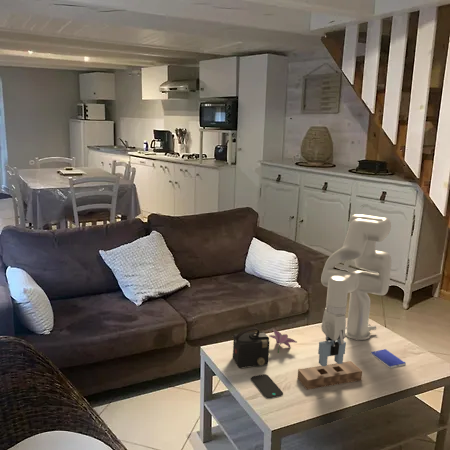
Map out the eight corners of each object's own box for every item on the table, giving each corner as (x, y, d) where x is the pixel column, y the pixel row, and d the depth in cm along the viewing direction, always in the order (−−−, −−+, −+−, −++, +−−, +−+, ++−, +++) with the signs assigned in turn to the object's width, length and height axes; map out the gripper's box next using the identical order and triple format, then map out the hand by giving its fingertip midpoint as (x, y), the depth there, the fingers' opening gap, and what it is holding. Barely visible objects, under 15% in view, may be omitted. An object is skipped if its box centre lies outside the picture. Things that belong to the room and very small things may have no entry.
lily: (298, 356, 206) (301, 334, 209) (279, 352, 200) (282, 329, 202) (279, 353, 216) (282, 332, 218) (260, 350, 209) (263, 328, 212)
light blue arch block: (339, 359, 189) (341, 338, 187) (343, 363, 186) (346, 342, 184) (317, 362, 185) (319, 341, 183) (321, 366, 183) (323, 345, 181)
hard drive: (371, 351, 208) (390, 365, 197) (385, 348, 211) (405, 362, 200) (370, 355, 209) (389, 369, 198) (385, 352, 212) (405, 365, 201)
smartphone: (266, 398, 173) (249, 376, 187) (266, 400, 173) (249, 378, 187) (284, 394, 176) (266, 373, 190) (284, 396, 176) (266, 375, 190)
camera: (271, 366, 196) (273, 333, 192) (239, 370, 192) (240, 336, 189) (262, 353, 206) (263, 321, 203) (231, 357, 202) (232, 324, 199)
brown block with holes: (350, 369, 195) (350, 361, 194) (361, 380, 188) (362, 371, 187) (297, 378, 188) (298, 369, 187) (307, 389, 180) (307, 380, 179)
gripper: (316, 301, 187) (312, 344, 191) (338, 318, 172) (334, 364, 176) (333, 299, 189) (329, 341, 193) (356, 316, 174) (351, 361, 178)
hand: (331, 352), depth 185 cm, fingers closed on light blue arch block, 3 cm apart
